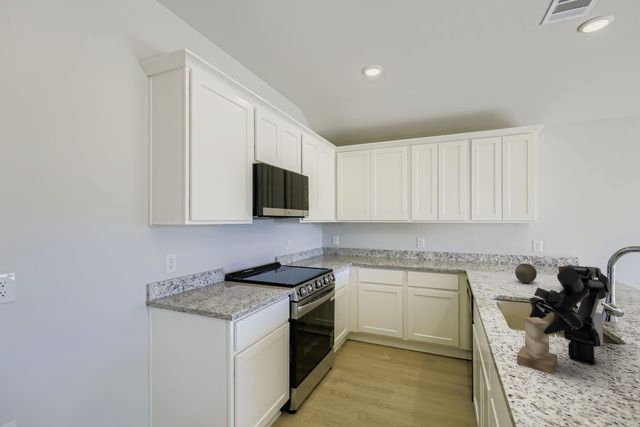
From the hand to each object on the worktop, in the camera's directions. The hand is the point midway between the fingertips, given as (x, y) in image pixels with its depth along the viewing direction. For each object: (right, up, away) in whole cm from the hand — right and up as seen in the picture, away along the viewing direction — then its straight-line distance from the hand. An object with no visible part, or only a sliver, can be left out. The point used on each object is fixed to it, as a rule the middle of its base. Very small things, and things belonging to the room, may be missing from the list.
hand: (536, 328), depth 102 cm
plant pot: (+97, -13, +98) cm, 138 cm away
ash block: (0, -9, 0) cm, 9 cm away
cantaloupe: (+84, -14, +124) cm, 150 cm away
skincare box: (+35, -12, +17) cm, 41 cm away
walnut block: (0, -13, -1) cm, 13 cm away
